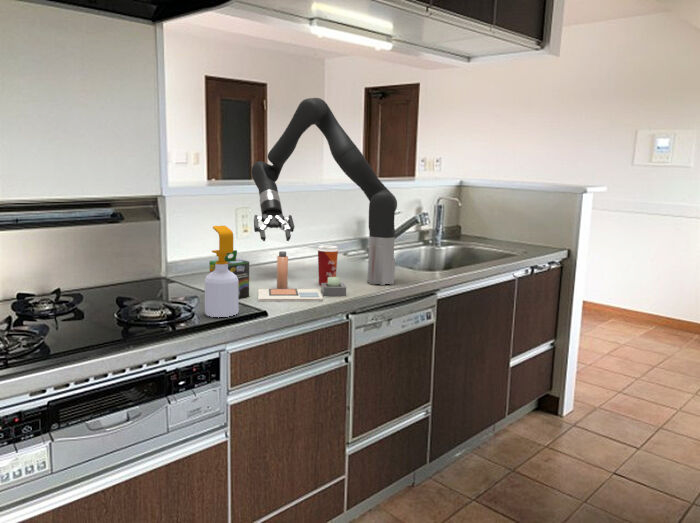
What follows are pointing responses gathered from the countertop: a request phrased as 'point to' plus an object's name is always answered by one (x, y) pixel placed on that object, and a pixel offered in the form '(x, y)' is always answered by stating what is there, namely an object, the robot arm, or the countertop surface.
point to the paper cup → (327, 262)
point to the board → (289, 295)
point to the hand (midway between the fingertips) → (276, 239)
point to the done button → (333, 281)
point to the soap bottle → (222, 280)
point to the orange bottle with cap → (282, 270)
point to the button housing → (333, 290)
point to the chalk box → (237, 272)
